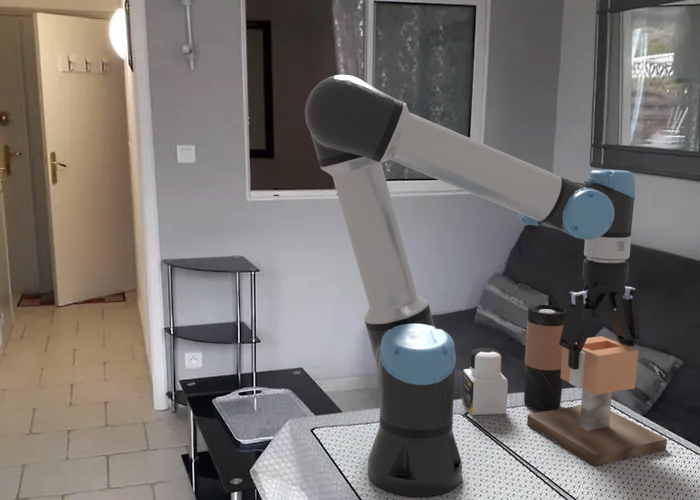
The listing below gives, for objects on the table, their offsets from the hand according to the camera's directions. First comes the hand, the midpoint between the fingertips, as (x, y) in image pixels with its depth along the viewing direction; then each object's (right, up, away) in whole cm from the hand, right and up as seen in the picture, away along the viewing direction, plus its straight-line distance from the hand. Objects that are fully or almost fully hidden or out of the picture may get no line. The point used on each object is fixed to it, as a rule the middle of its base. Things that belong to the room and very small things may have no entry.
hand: (597, 382), depth 126 cm
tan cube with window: (0, 0, 0) cm, 0 cm away
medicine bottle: (-18, -8, +15) cm, 24 cm away
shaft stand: (0, -10, +2) cm, 10 cm away
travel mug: (-5, -8, +17) cm, 19 cm away
